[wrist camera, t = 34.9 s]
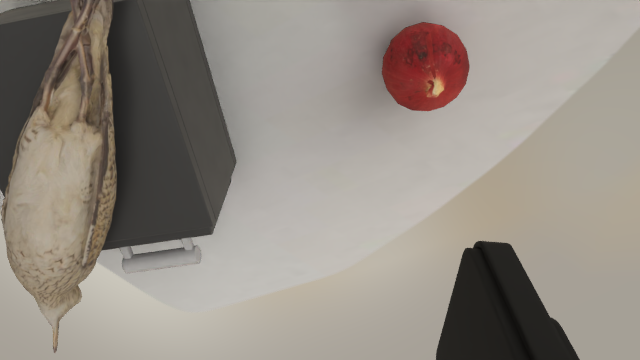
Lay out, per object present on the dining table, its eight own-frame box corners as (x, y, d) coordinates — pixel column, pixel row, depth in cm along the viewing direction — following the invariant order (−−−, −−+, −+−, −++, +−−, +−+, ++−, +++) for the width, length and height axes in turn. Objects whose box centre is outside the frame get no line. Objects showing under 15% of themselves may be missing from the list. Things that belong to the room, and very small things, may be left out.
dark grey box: (236, 161, 42) (213, 227, 34) (93, 184, 43) (35, 253, 35) (182, -25, 35) (135, -3, 27) (13, 8, 37) (-84, 40, 28)
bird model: (-17, 366, 34) (27, 312, 38) (70, 390, 34) (103, 334, 39) (-35, -93, 20) (37, -96, 24) (114, -41, 20) (158, -53, 24)
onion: (368, 28, 37) (378, 57, 30) (446, 2, 36) (475, 26, 29) (388, 100, 39) (401, 142, 32) (462, 78, 39) (491, 116, 32)
